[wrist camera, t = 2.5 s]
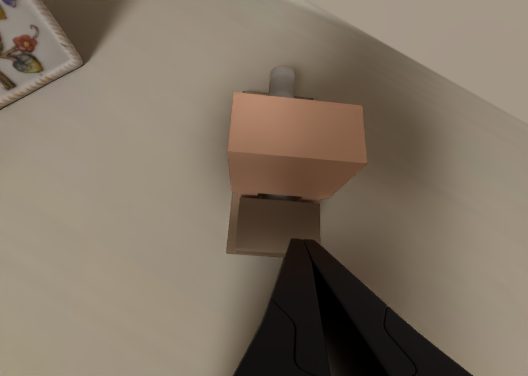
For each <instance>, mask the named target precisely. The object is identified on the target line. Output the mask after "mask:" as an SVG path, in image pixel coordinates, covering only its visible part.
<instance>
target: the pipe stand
mask: <svg viewBox="0 0 528 376" xmlns="http://www.w3.org/2000/svg"><path fill="white" fill-rule="evenodd" d="M294 79H295V74H294V71H293V70H292V69H291V68H289V67H286V66H278V67H276V68H274V69H273V70H272V71H271V73H270V83H269V94H265V93H256V92H246V91H243V93H247V94H256V95H266V96H276V97H286V98H295V99H305V100H313V98H304V97H294ZM291 238H300V239H302V240H303V239H313V240H315V241H317V242H318V243H319V244H320V204H319V203H306V202H293V196H288V195H275V194H263V193H258V195H257V199H255V198H242V197H240V198H239V197H238V192H237V191H232V201H231V211H230V220H229V230H228V240H227V250H226V253H227V254H240V255H255V256H271V257H285V254H286V251H287V248H288V245H289V242H290V239H291Z"/></svg>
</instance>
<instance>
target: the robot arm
mask: <svg viewBox="0 0 528 376" xmlns="http://www.w3.org/2000/svg"><path fill="white" fill-rule="evenodd" d="M233 376H473V375H471V374H470V373H469V372H468V371H466V370H465V369H464V368H463V367H461V366H460V365H459V364H457V363H456V362H455V361H454V360H452V359H451V358H450V357H449V356H447V355H446V354H445V353H443V352H442V351H441V350H440V349H438V348H437V347H436V346H435V345H433V344H432V343H431V342H430V341H428V340H427V339H426V338H425V337H423V336H422V335H421V334H420V333H418V332H417V331H416V330H415V329H414V328H413V327H411V326H410V325H409V324H408V323H407V322H406V321H404V320H403V319H402V318H401V317H400V316H399V315H398V314H397V313H395V312H394V311H393V310H392V309H391V308H390V307H387V305H386V304H385V303H384V302H383V301H382V300H381V299H380V298H379V297H378V296H376V295H375V294H374V293H373V292H372V291H371V290H370V289H369V288H368V287H366V286H365V285H364V284H363V283H362V282H361V281H360V280H359V279H358V278H356V277H355V276H354V275H353V274H352V273H351V272H350V271H349V270H348V269H346V268H345V267H344V266H343V265H342V264H341V263H340V262H339V261H338V260H336V259H335V258H334V257H333V256H332V255H331V254H330V253H329V252H328V251H327V250H325V249H324V248H323V247H322V246H321V245H320V244H319V243H318V242H317V241H315V240H313V239H303V240H302V239H300V238H291V239H290V242H289V245H288V248H287V251H286V254H285V257H284V259H283V262H282V265H281V268H280V271H279V274H278V277H277V280H276V283H275V285H274V288H273V291H272V294H271V297H270V301H269V302H268V305H267V308H266V311H265V313H264V316H263V318H262V321H261V323H260V326H259V328H258V330H257V332H256V334H255V336H254V338H253V340H252V342H251V343H250V345H249V347H248V349H247V351H246V353H245V354H244V356H243V358H242V360H241V362H240V364H239V366H238V367H237V369H236V371H235V373H234V375H233Z"/></svg>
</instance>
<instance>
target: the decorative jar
mask: <svg viewBox="0 0 528 376" xmlns="http://www.w3.org/2000/svg"><path fill="white" fill-rule="evenodd" d="M82 64H83V61H82V58H81V56H80V55H79V53H78V52H77V51H76V49H75V47H74V46H73V45H72V43H71V42H70V40H69V39H68V37H67V36H66V34H65V32H64V31H63V30H62V28H61V27H60V25H59V24H58V22H57V21H56V20H55V18H54V17H53V15H52V14H51V13H50V11H49V10H48V8H47V7H46V6H45V4H44V3H43V1H42V0H0V109H1V108H2V107H4V106H6V105H8V104H10V103H12V102H14V101H16V100H18V99H20V98H22V97H24V96H26V95H28V94H30V93H31V92H33V91H35V90H37V89H38V88H40V87H42V86H44V85H46V84H48V83H49V82H51V81H53V80H55V79H57V78H59V77H61V76H63V75H65V74H67V73H69V72H71V71H73V70H75V69H77V68H78V67H80V66H81V65H82Z"/></svg>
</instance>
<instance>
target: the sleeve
mask: <svg viewBox="0 0 528 376" xmlns="http://www.w3.org/2000/svg"><path fill="white" fill-rule="evenodd" d="M227 153H228V162H229V171H230V180H231V189H232V191H237V192H238V197H239V198H240V197H242V198H255V199H257V195H258V193H263V194H275V195H288V196H293V202H306V203H318V202H319V201H320V200H321V199H322V198H326V199H329V198H330V197H331V196H332V195H333V194H334V193H335V192H336V191H337V190H339V189H340V188H341V187H342V186H343V185H344V184H345V183H346V182H347V181H349V180H350V179H351V178H352V177H353V176H354V175H355V174H356V173H357V172H359V171H360V170H361V169H362V168H363V167H364V166H365V165H366V164H367V152H366V141H365V130H364V119H363V108H362V105H354V104H344V103H334V102H325V101H315V100H305V99H295V98H286V97H276V96H266V95H256V94H247V93H237V92H234V97H233V106H232V114H231V123H230V132H229V140H228V149H227Z"/></svg>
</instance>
